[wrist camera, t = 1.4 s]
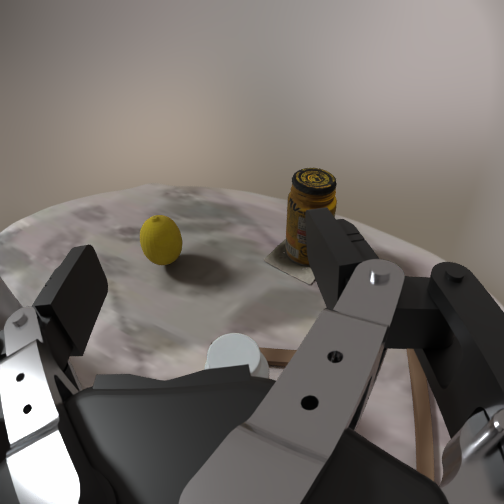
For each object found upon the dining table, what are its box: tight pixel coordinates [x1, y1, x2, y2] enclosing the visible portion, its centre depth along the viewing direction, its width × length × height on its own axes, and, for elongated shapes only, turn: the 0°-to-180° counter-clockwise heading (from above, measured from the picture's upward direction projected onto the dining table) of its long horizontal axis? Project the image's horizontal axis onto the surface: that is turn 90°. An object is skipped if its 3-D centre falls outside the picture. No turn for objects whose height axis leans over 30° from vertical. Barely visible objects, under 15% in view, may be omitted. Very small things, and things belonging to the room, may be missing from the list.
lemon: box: [140, 215, 182, 265], centre depth 40 cm, size 6×6×8 cm
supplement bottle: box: [204, 333, 269, 379], centre depth 26 cm, size 5×5×10 cm
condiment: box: [264, 168, 337, 285], centre depth 39 cm, size 7×8×12 cm
